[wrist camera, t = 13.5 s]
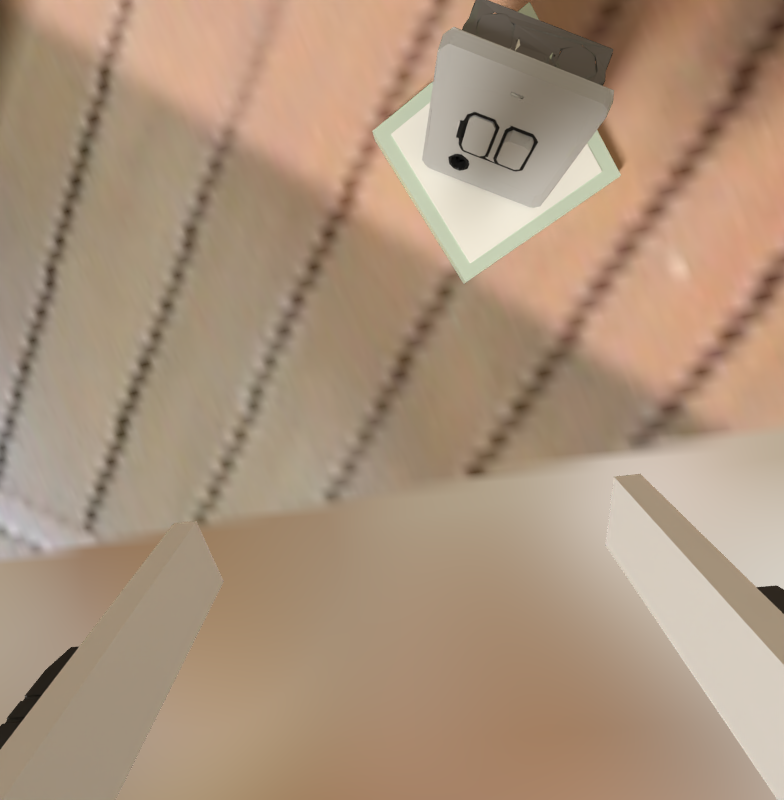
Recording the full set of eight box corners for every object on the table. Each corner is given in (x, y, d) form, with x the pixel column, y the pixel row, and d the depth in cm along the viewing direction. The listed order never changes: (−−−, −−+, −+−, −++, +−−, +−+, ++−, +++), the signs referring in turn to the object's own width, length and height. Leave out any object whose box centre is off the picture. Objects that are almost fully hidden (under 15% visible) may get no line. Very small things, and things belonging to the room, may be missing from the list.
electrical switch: (419, 167, 28) (425, 76, 18) (446, 95, 27) (465, -37, 18) (536, 212, 28) (599, 144, 19) (565, 142, 27) (646, 34, 18)
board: (375, 140, 29) (372, 130, 27) (523, 19, 26) (529, 0, 25) (463, 283, 31) (465, 282, 29) (610, 182, 28) (621, 174, 27)
